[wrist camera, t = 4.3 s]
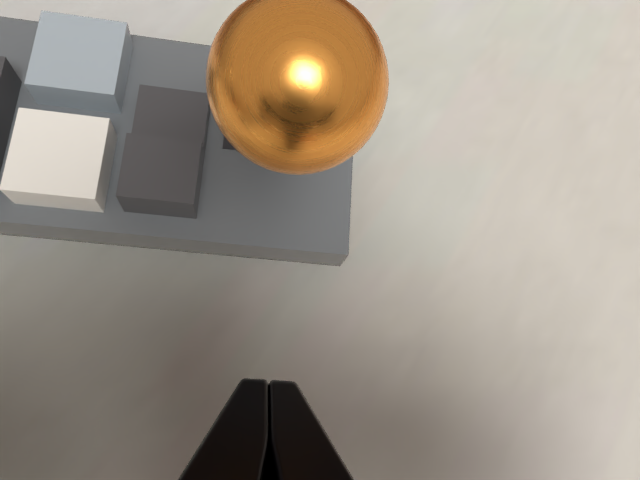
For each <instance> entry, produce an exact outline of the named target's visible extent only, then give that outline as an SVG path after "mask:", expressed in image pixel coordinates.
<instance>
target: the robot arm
mask: <svg viewBox="0 0 640 480" xmlns="http://www.w3.org/2000/svg"><path fill="white" fill-rule="evenodd" d="M178 480H354V479H353V478H352V476H351V474H350V472H349V471H348V469H347V467H346V466H345V464H344V462H343V461H342V459H341V457H340V456H339V454H338V452H337V451H336V449H335V447H334V446H333V444H332V442H331V441H330V439H329V437H328V435H327V434H326V432H325V430H324V429H323V427H322V425H321V424H320V422H319V420H318V419H317V417H316V415H315V414H314V412H313V410H312V409H311V407H310V405H309V404H308V402H307V400H306V398H305V397H304V395H303V393H302V392H301V390H300V388H299V387H298V385H297V384H296V383H295V382H292V381H279V380H272V381H270V383H269V385H268V382H267V381H266V380H264V379H248V378H245V379H242V380H241V381H240V382H239V384H238V386H237V387H236V389H235V390H234V392H233V393H232V395H231V397H230V398H229V400H228V401H227V403H226V405H225V406H224V408H223V409H222V411H221V412H220V414H219V416H218V417H217V419H216V420H215V422H214V424H213V425H212V427H211V428H210V430H209V431H208V433H207V435H206V436H205V438H204V439H203V441H202V443H201V444H200V446H199V447H198V449H197V451H196V452H195V454H194V455H193V457H192V458H191V460H190V462H189V463H188V465H187V466H186V468H185V470H184V471H183V473H182V474H181V476H180V477H179V479H178Z"/></svg>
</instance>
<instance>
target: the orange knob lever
mask: <svg viewBox="0 0 640 480" xmlns="http://www.w3.org/2000/svg"><path fill="white" fill-rule="evenodd" d="M388 85H389V78H388V67H387V60H386V56H385V53H384V50H383V46H382V44H381V42H380V40H379V37H378V35H377V34H376V32H375V30H374V29H373V27H372V25H371V24H370V23H369V21H368V20H367V19H366V18H365V16H364V15H363V14H362V13H361V12H360V11H359V10H358V9H357V8H356V7H354V6H353V5H352V4H350V3H349V2H348V1H346V0H246V1H245V2H244V3H242V4H241V5H239V6H238V7H237V8H236V9H235V10H234V11H233V12H232V13H231V14H230V15H229V16H228V18H227V19H226V20H225V21H224V23H223V24H222V26H221V27H220V29H219V31H218V32H217V34H216V36H215V38H214V41H213V43H212V45H211V49H210V52H209V56H208V60H207V67H206V90H207V97H208V102H209V106H210V109H211V112H212V114H213V117H214V120H215V122H216V123H217V125H218V127H219V129H220V131H221V132H222V134H223V135H224V136H225V138H226V139H227V141H228V142H229V143H230V144H231V145H232V146H233V147H234V148H235V149H236V150H237V151H238V152H239V153H240V154H242V155H243V156H244V157H245V158H247V159H249V160H250V161H252V162H253V163H255V164H257V165H259V166H261V167H263V168H265V169H268V170H271V171H275V172H278V173H284V174H293V175H303V174H313V173H317V172H322V171H325V170H328V169H330V168H333V167H335V166H337V165H339V164H341V163H343V162H345V161H346V160H347V159H349V158H350V157H352V156H353V155H354V154H355V153H356V152H358V151H359V150H360V149H361V148H362V147H363V146H364V145H365V143H366V142H367V141H368V140H369V139H370V137H371V136H372V134H373V133H374V131H375V130H376V128H377V126H378V124H379V122H380V120H381V117H382V114H383V112H384V109H385V105H386V100H387V96H388Z"/></svg>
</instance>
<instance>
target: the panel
mask: <svg viewBox="0 0 640 480" xmlns="http://www.w3.org/2000/svg"><path fill="white" fill-rule="evenodd" d="M210 49H211V46H209V45H202V44H194V43H187V42H180V41H173V40H166V39H158V38H151V37H144V36H137V35H130V31H129V28H128V24H127V23H126V22H119V21H112V20H105V19H98V18H91V17H83V16H76V15H69V14H62V13H55V12H48V11H41V14H40V19H39V22H36V21H29V20H22V19H15V18H7V17H0V234H4V235H14V236H25V237H36V238H46V239H57V240H68V241H78V242H89V243H100V244H111V245H121V246H132V247H143V248H153V249H164V250H175V251H185V252H196V253H207V254H218V255H228V256H239V257H250V258H260V259H271V260H282V261H292V262H303V263H314V264H325V265H335V266H340V265H341V264H342V263H343V261H344V260H345V259H346V257H347V256H348V251H349V229H350V207H351V185H352V162H353V156H352V157H350V158H349V159H347V160H346V161H345V162H343V163H341V164H339V165H337V166H335V167H333V168H330V169H328V170H325V171H322V172H317V173H313V174H303V175H293V174H284V173H278V172H275V171H271V170H268V169H265V168H263V167H261V166H259V165H257V164H255V163H253V162H252V161H250V160H249V159H247V158H245V157H244V156H243V155H242V154H240V153H239V152H238V151H237V150H236V149H235V148H234V147H233V146H232V145H231V144H230V143H229V142H228V141H227V139H226V138H225V136H224V135H223V134H222V132H221V131H220V129H219V127H218V125H217V123H216V122H215V120H214V117H213V114H212V112H211V109H210V106H209V102H208V97H207V90H206V67H207V60H208V56H209V52H210Z"/></svg>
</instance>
